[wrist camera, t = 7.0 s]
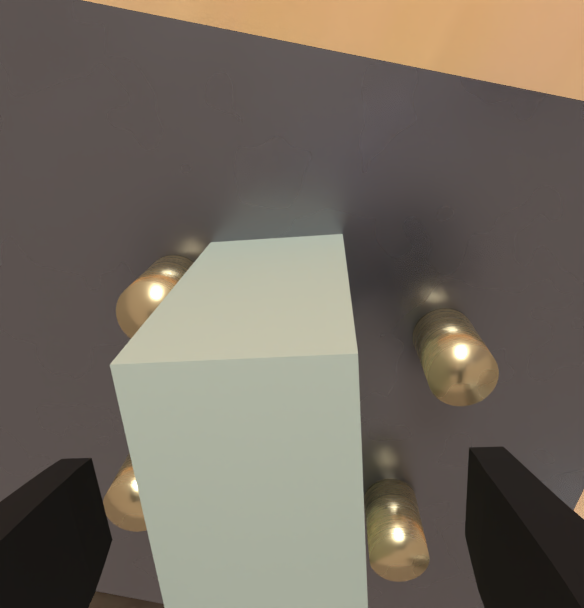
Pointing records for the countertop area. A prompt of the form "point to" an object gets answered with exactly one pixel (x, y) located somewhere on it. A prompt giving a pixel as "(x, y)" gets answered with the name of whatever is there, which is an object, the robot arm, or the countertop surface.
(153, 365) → the sage block
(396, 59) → the countertop surface
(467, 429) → the standoff plate
